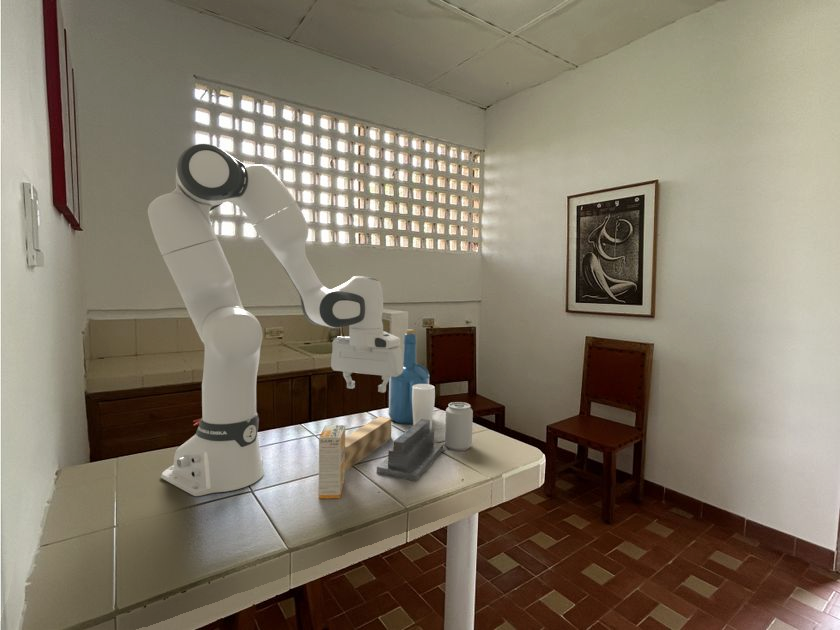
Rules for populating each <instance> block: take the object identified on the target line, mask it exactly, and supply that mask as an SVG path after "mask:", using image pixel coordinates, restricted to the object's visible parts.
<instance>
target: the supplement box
mask: <svg viewBox="0 0 840 630" xmlns="http://www.w3.org/2000/svg"><path fill="white" fill-rule="evenodd" d="M345 437H346V425H345V424H327V425H325V426H324V427H323V429H322V431H321V433H320V435H319V437H318V491H317V492H318V499H326V500H327V499H340V498H341V495H342V491H343V486H344V483H345V477H346V476H345V475H346V474H345V472H346V471H345Z"/></svg>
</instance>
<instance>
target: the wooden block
mask: <svg viewBox="0 0 840 630" xmlns="http://www.w3.org/2000/svg"><path fill="white" fill-rule="evenodd" d="M390 439H392V420H391V418H390V417H385V416H378V417H376V418H375V419H372V420H371V421H370V422H368V423H365V425H363V426H361V427H359V428H358V429H356V430H354V431H352V432H351V433H349V434H348V435H345V472H346V471H348V470H350V468H352V467H353V466H355V465H356V464H358V463H359V462H360V461H362V460H364V458H366V457H367V456H368V455H370V454H371V453H372V452H374V451H376V450H377V449H378V448H379V447H381V446H382V445H383V444H384V443H386V442H387V441H388V440H390Z"/></svg>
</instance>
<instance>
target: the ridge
mask: <svg viewBox="0 0 840 630" xmlns="http://www.w3.org/2000/svg"><path fill="white" fill-rule="evenodd" d="M444 444H445V443H444ZM444 444H443V443H437V442H435V429H430V420H425V419H421V420H420V421H419V422H417V423H416V424H415V425H413V424H412V426H411V427H409V428H408V429H407V430H406V431H404V432H403V433H402V434H401V435H399V437H397V438H395V439H394V440H393V446H392V447H391V448H390V449H388V450H387V452H388V453H387V454H388V455H387V456H388V457H386V458H385V459H384V460H383V461H382V462H381V463H379V464H378V465H377V466H376V474H380V475H386V476H390V477H395V478H399V479H404V480H408V481H413V482H416V481H417V480H418V479H419V478H420V477H421V476H422V475H423V473H424V472H425V471H426V470H427V469H428V468H429V467H430V465H431V464H433V462H434V461H435V460H436V459H437V458H438V457H439V455H440V454H441V453H442V452H443V451H444ZM428 466H429V467H428Z"/></svg>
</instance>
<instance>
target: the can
mask: <svg viewBox="0 0 840 630" xmlns="http://www.w3.org/2000/svg"><path fill="white" fill-rule="evenodd" d="M471 407H472V405H471V404H469V403H467V402H464V401H463V402H462V401H455V402H454V401H453V402H450V403H448V407H446V409H445V424H444V428H445V429H444V430H445V431H444V444H445V446H446V447H448V449H449V450H452V451H459V452H461V451H466V450H468V449H469V448H470V447H472V444H473V418H474V414H473V413H474V411H473V409H472V408H471Z"/></svg>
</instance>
